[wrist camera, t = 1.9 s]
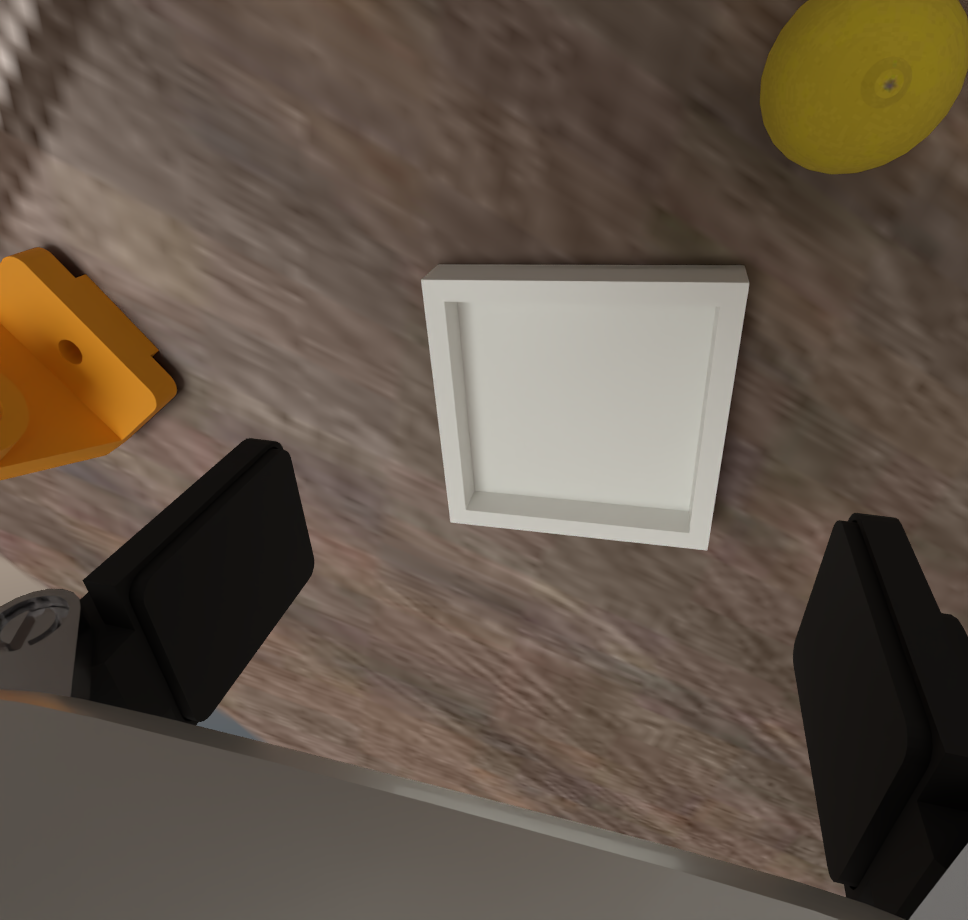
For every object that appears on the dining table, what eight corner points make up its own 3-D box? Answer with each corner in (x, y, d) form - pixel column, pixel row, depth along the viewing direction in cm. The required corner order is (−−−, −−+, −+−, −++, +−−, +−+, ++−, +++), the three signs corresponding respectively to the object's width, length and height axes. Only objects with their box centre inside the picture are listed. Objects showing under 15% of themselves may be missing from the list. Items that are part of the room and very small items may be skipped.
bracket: (191, 383, 39) (29, 495, 29) (135, 433, 43) (-25, 548, 33) (50, 236, 36) (-184, 307, 26) (3, 305, 40) (-217, 390, 30)
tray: (438, 264, 31) (421, 279, 29) (744, 265, 27) (749, 282, 25) (462, 497, 38) (450, 522, 36) (705, 521, 35) (707, 550, 33)
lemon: (730, 145, 25) (748, 180, 19) (780, -30, 22) (822, -61, 16) (877, 165, 24) (949, 209, 18) (952, -14, 21) (1071, -39, 15)
